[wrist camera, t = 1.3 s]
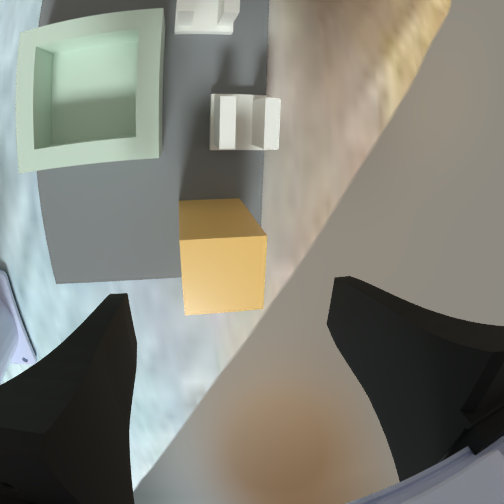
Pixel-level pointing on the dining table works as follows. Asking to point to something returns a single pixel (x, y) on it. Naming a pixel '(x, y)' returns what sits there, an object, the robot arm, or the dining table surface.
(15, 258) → the dining table surface
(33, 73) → the end holder
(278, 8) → the dining table surface
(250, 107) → the cable clip
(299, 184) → the dining table surface
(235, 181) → the mat
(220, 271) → the connector plug
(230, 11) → the cable clip
